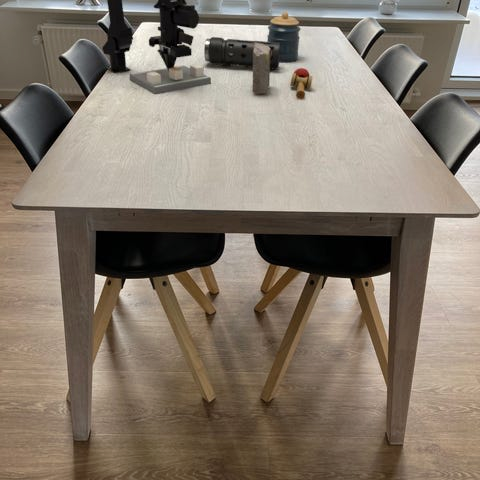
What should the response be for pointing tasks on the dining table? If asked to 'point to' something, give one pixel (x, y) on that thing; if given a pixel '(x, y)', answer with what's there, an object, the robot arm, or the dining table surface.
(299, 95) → the kendama
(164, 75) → the switch panel
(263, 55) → the geological specimen
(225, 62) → the muzzle brake
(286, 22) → the canister
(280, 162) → the dining table surface
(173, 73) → the switch
